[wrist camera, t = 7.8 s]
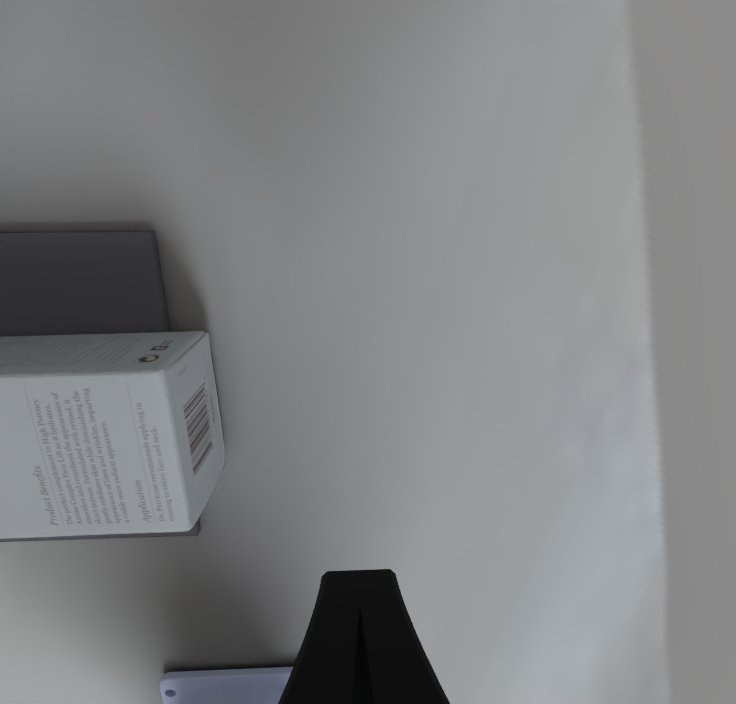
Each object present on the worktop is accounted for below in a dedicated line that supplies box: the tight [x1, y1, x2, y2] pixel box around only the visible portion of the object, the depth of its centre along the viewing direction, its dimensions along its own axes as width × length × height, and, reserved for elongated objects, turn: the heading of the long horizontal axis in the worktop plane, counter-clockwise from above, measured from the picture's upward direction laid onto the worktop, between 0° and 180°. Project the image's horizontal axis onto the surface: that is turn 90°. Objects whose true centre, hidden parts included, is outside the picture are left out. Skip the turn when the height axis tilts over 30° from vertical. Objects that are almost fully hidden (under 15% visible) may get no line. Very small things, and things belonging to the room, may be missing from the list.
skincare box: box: [0, 331, 225, 539], centre depth 16 cm, size 6×4×12 cm
